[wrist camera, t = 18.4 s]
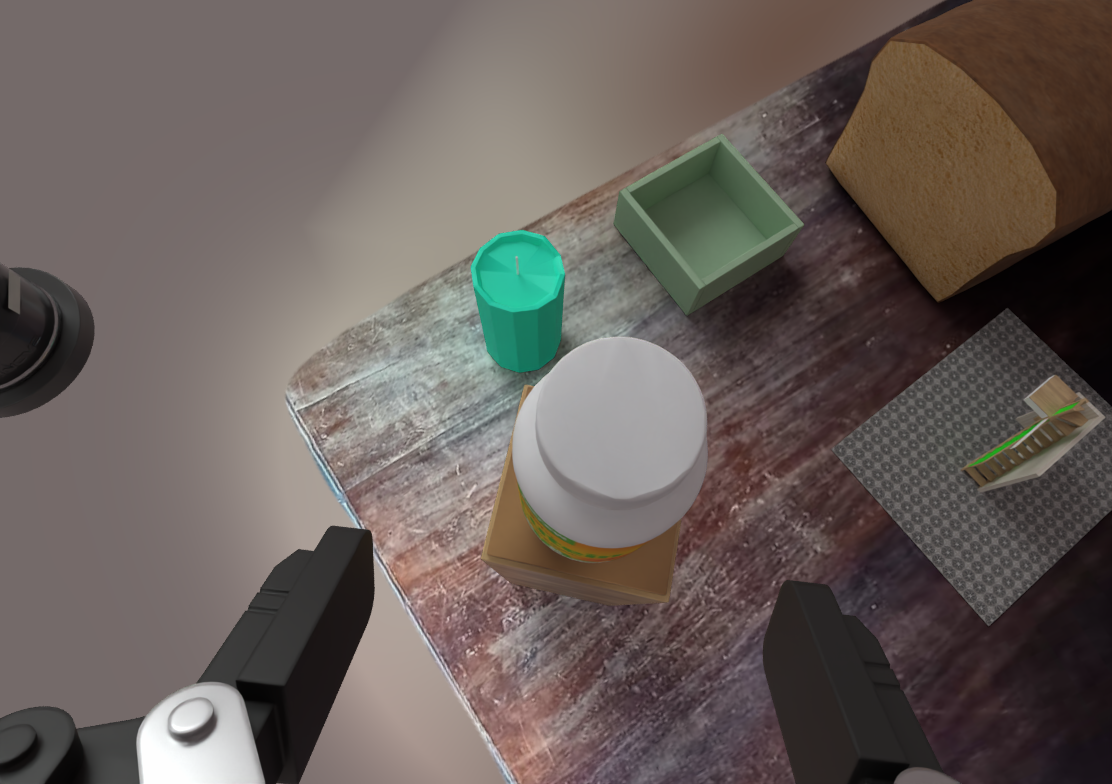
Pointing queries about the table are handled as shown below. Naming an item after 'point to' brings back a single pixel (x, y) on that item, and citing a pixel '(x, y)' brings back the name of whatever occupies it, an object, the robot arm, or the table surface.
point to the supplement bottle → (610, 449)
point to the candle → (520, 299)
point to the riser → (544, 569)
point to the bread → (983, 136)
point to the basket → (705, 223)
